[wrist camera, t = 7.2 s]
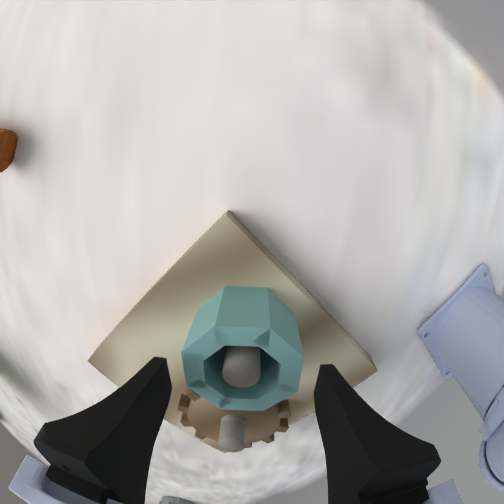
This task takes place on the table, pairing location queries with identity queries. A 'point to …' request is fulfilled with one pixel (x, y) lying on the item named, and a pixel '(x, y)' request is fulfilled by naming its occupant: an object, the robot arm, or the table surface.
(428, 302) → the table surface
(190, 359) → the teal faceted ring
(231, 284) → the gear board
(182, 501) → the camera lens
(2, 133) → the kendama
